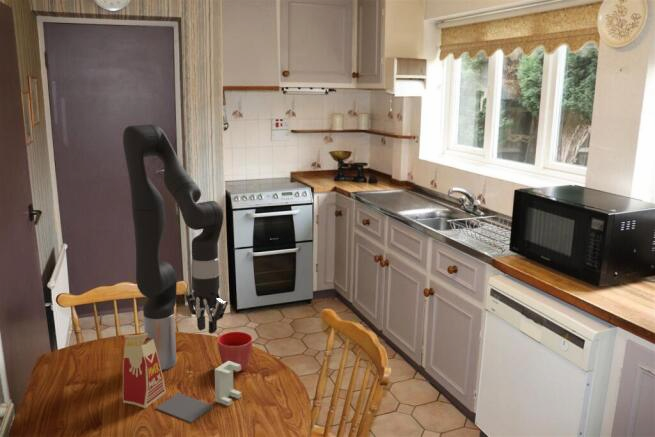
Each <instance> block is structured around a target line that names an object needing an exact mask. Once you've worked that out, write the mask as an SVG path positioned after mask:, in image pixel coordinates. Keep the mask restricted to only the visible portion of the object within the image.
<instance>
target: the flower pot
mask: <svg viewBox="0 0 655 437" xmlns="http://www.w3.org/2000/svg"><path fill="white" fill-rule="evenodd" d="M216 340H217V341H216V342H217V347H218V352H219V357H220V360H221V365H222V364H224V363H225V362H227V361H231V362H234V363H237V364H240V365H241V370H239V371H235V370H233V373H239V372H243V371H245V370H247V368H248V366H249V362H250V357H251V351H252V347H253V340H254V338H253V336H252V335H251V334H249V333H247V332H243V331H229V332H226V333H223V334H221V335H219V336H218V338H217V339H216Z"/></svg>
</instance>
